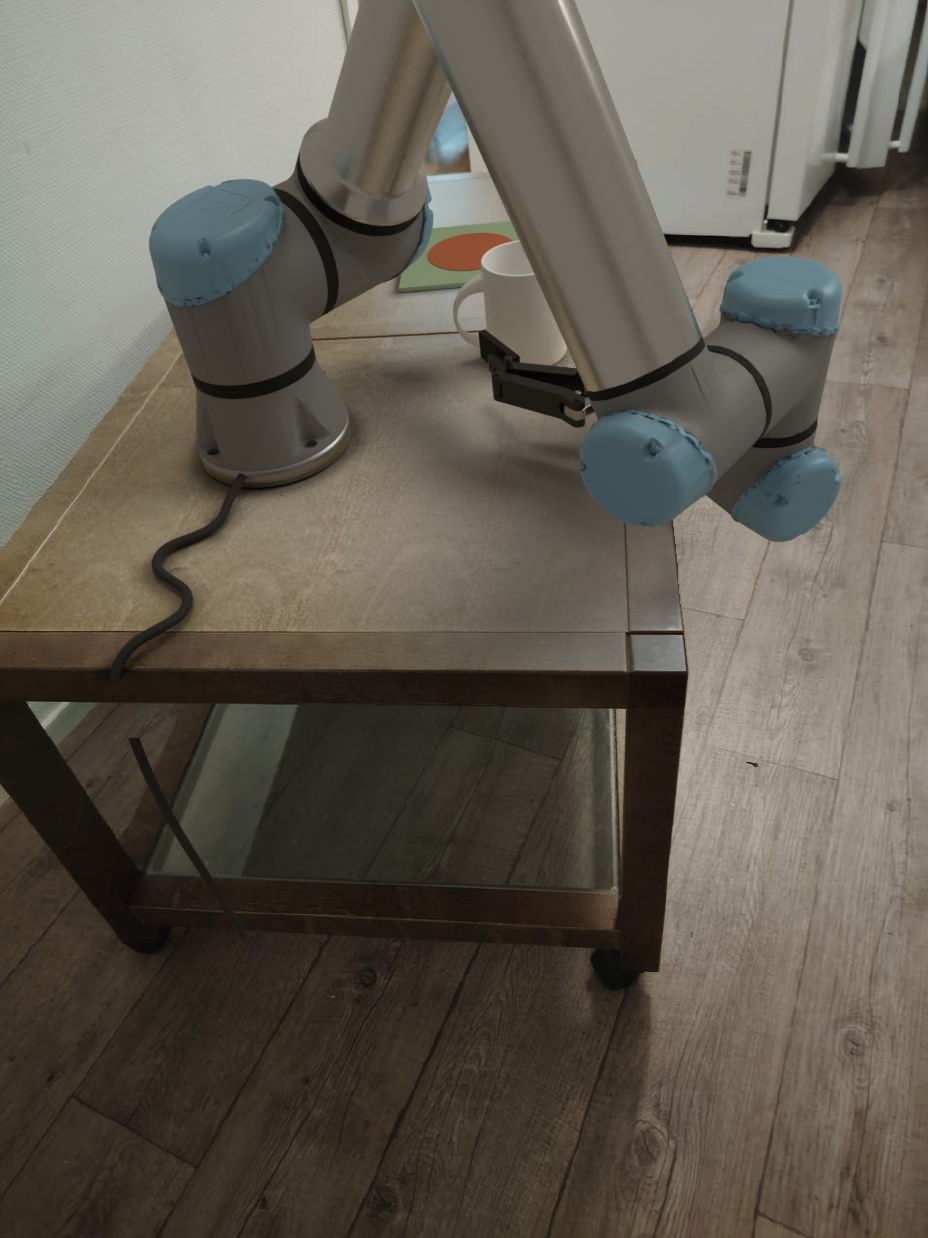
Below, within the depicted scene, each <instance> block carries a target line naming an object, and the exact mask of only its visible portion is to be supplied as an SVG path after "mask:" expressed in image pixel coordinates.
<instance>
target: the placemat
mask: <svg viewBox="0 0 928 1238" xmlns="http://www.w3.org/2000/svg"><path fill="white" fill-rule="evenodd" d="M518 240H519V239H518V236H517V234H516V232H515V230H514V227H513V225H512V223H511V221H510V220H509V221H508V220H507V221H497V222H486V223H476V224H475V223H473V224H464V225H463V224H462V225H454V226H445V227H444V226H442V227H432V233H431V236H430V240H429V242H428V245H427V247H426V249H425V250H424V252H423V253H422V255H421V256H420V257H419V258H418V260H417V261H416V262H414V263H413V264H412V265H410V266H409V267H408V268H407V269H406V270H405V271H404V272H403V273H400V278H399V284H398V292H399V293H409V292H420V291H421V292H422V291H432V290H445V289H455V288H456V289H457V288H462V287H463V285H464V284H465V283H466V282H468V281H469V280H470V279H471V278H473V277H474V276H476V275H477V274H479V273H480V272H481V271H482V269H481V259H482V257H483V255H484V254H485V253H486V252H487V251H489V250H490V249H492V248H494V247H496V246H498V245H501V244H504V243H508V242H512V241H518Z"/></svg>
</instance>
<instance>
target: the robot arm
mask: <svg viewBox="0 0 928 1238" xmlns="http://www.w3.org/2000/svg"><path fill="white" fill-rule="evenodd" d="M355 15H356V16H355V19H354V23H353V26H352V30H351V33H350V36H349V40H348V44H347V47H346V51H345V54H344V58H343V61H342V65H341V68H340V72H339V75H338V79H337V83H336V87H335V89H334V92H333V97H332V100H331V103H330V107H329V110H328V114H327V117H324V118H322V119H320V120H318V121H316V122H315V123H313V124H312V125H311V126H310V127H309V128H308V129H307V130H306V132H305V133H304V135H303V138H302V140H301V143H300V147H299V149H298V155H297V158H296V162H295V166H294V168H293V169H294V170H293V172H292V174H291V175H290V176H289V177H288V178H287V179H286V180H284V181H282V182H279V183H277V184H275V185H273V186H270V185H269V183H266V182H264V181H262V180H258V179H252V178H238V179H229V180H223V181H221V182H220V183H219V184H217V185H215V186H213V185H210V184H209V185H206V186H203V187H201V188H198V189H196V190H194V191H192V192H189V193H188V194H186V195H184V196H182V197H181V198H179V199H178V200H176V201H175V202H173V203H171V204H170V205H169V206H168V207H166V208H165V210H163V212H161V213H160V214H159V216H157V218H156V220H155V221H154V223H153V224H152V228H151V230H150V235H149V239H148V250H149V255H150V259H151V262H152V266H153V270H154V275H155V282H156V286H157V289H158V292H159V293H160V296H161V297H162V298H163V299H164V303H165V306H166V308H167V311H168V314H169V317H170V320H171V322H172V325H173V328H174V331H175V334H176V336H177V339H178V342H179V345H180V348H181V350H182V353H183V356H184V358H185V362H186V364H187V368H188V370H189V372H190V375H191V378H192V381H193V384H194V386H195V387H194V388H195V392H196V393H195V397H196V398H195V401H196V403H195V404H196V405H195V407H196V408H195V411H196V412H195V415H196V416H195V417H196V419H195V426H196V428H195V447H196V450H197V453H198V455H199V458H200V461H201V463H202V466H203V469H204V470H205V471H206V472H207V474H209V475H210V476H211V477H212V478H213V479H215V480H217V481H219V482H221V483H224V484H227V485H230V488H229V490H228V492H227V493H226V496H225V498H224V500H223V502H222V505H221V508H220V510H219V512H218V514H217V516H216V517H215V518H214V519H213V520H211V522H209V523H208V524H206V525H205V526H202V527H201V528H199V529H197V530H194V531H192V532H189V533H185V534H184V535H180V536H178V537H175V538H173V539H171V540H169V541H167V542H165V543H164V544H162V545H161V546H160V547H159V548H158V549H157V550H156V551H155V552H154V555H153V556H152V559H151V568H152V571H153V573H154V574H155V575H156V577H157V578H159V580H161V581H163V582H164V583H166V584H168V585H169V586H171V587H172V588H173V589H175V590H176V591H178V593H179V594H180V595H181V597H182V601H181V604H180V606H179V607H178V609H177V610H176V611H174V613H172V614H171V615H169V616H168V617H167V618H165V619H163V620H161V621H158V622H157V623H155V624H153V625H152V626H150V627H148V628H146V629H144V630H142V631H141V632H139V633H137V634H136V635H135V636H133V637H132V638H130V640H128V641H127V642H126V643H125V644H124V645H123V646H122V648H121V649H120V650H119V651H118V653H117V655H116V657H115V658H114V660H113V661H112V662H113V663H112V665H111V668H110V671H109V678H108V681H109V683H111V684H115V683H117V682H118V681H119V680H120V679H121V677H122V675H123V671H124V668H125V665H126V663H127V661H128V659H130V657H131V655H132V654H134V652H136V651H137V649H139V648H140V647H142V646H143V645H144V644H145V643H147V642H148V641H150V640H152V639H154V638H155V637H158V636H160V635H161V634H164V633H165V632H167V631H168V630H170V629H173V627H176V626H177V625H178V624H180V623H181V622H182V621H183V620H184V619H185V618H186V617H187V615H188V614H189V613H190V611H191V609H192V607H193V605H194V604H193V603H194V596H193V592H192V590H191V588H190V587H189V585H187V584H186V583H185V582H184V581H182V580H181V579H179V578H178V577H176V576H175V575H173V574H172V573H170V572H168V571H167V570H166V569H165V568H164V567H163V560H164V559H165V557H166V556H167V555H168V554H170V553H171V552H173V551H175V550H177V549H179V548H182V547H184V546H187V545H189V544H192V543H195V542H198V541H199V540H202V539H204V538H207V537H208V536H209V535H212V534H213V533H215V532H216V531H218V530H219V529H220V528H221V527H222V526H223V524H225V522H226V521H227V519H228V517H229V514H230V512H231V510H232V507H233V504H234V502H235V500H236V498H237V497H238V495H239V493H240V491H241V488H249V489H250V488H253V489H254V488H255V489H258V488H269V487H270V488H271V487H278V486H282V485H286V484H291V483H294V482H297V481H300V480H303V479H305V478H308V477H310V476H313V475H315V474H317V473H318V472H320V471H322V470H324V469H326V468H327V467H329V466H330V465H331V464H332V463H334V462H335V461H336V460H337V459H338V458H339V457H340V456H341V455H342V454H343V453H344V451H346V449H347V447H348V445H349V443H350V442H351V438H352V432H353V429H352V424H351V420H350V415H349V411H348V407H347V405H346V404H345V402H344V401H343V399H342V398H341V397H340V395H339V393H338V392H337V390H336V388H335V387H334V385H333V383H332V382H331V380H330V379H329V377H328V376H327V374H326V371H325V370H323V368H322V366H321V365H320V363H319V362H318V359H317V355H316V350H315V347H314V343H313V337H312V333H311V328H310V325H311V324H312V323H314V322H315V321H317V320H318V319H320V318H322V317H324V316H325V315H327V314H329V313H330V312H332V311H334V310H336V309H338V308H339V307H341V306H343V305H345V304H347V303H348V302H351V301H352V300H354V299H356V298H358V297H360V296H362V295H363V294H364V293H366V292H369V291H370V290H372V289H374V288H376V287H377V286H379V285H381V284H384V283H386V282H387V283H388V282H390V281H392V280H394V279H396V278H398V277H399V276H400V275H401V273H403V272H404V271H405V270H406V269H407V268H408V267H409V266H410V265H412V264H413V263H414V262H416V261H417V260H418V258H419V257H420V256H421V255H422V253H423V252H424V250H425V249H426V247H427V245H428V242H429V240H430V236H431V233H432V228H434V211H433V210H432V209H431V208H430V207H429V204H430V203H431V202H432V195H431V190H430V187H429V182H428V176H427V173H426V169H425V167H424V165H423V162H424V160H425V157H426V155H427V153H428V151H429V148H430V146H431V144H432V141H433V138H434V136H435V133H436V132H437V129H438V127H439V126H438V125H439V124H440V123H441V119H442V117H443V115H444V112H445V110H446V107H447V105H448V102H449V100H450V98H451V95H452V93H453V96H454V98H455V100H456V102H457V105H458V107H459V109H460V111H461V114H462V116H463V118H464V120H465V122H466V125H467V128H469V131H470V133H471V136H472V139H473V140H474V142H475V145H476V147H477V149H478V151H479V153H480V155H481V158H482V161H483V162H484V164H485V168H486V169H487V171H488V173H489V176H490V178H491V180H492V183H493V185H494V187H495V190H496V192H497V194H498V196H499V198H500V201H501V203H502V205H503V207H504V209H505V212H506V214H507V216H508V218H509V221H511V223H512V225H513V227H514V230H515V232H516V234H517V236H518V239H519V241H520V243H521V245H522V248H523V250H524V252H525V254H526V256H527V259H528V261H529V263H530V265H531V268H532V270H533V272H534V274H535V277H536V279H537V281H538V283H539V286H540V288H541V290H542V292H543V294H544V297H545V299H546V301H547V303H548V306H549V308H550V310H551V312H552V315H553V317H554V319H555V321H556V323H557V326H558V328H559V330H560V332H561V335H562V337H563V339H564V341H565V344H566V346H567V350H568V352H569V355H570V357H571V359H572V361H573V363H574V366H575V367H570V366H569V367H568V366H558V365H552V366H550V365H541V364H531V363H521V362H520V356H519V355H518V354H516V353H515V352H514V351H512V350H511V349H510V348H509V347H507V346H506V345H505V344H503V343H502V342H501V341H499V340H498V339H497V338H495V337H494V336H493V335H492V334H490V333H489V332H488V331H486V330H485V329H483V330H480V331H478V332H477V333H479V344H480V347H479V354H480V358H481V359H482V360H483V361H484V362H486V364H487V365H488V366H487V367H488V371H489V372H490V373H491V375H490V376H491V388H492V398H493V401H495V402H497V403H498V402H499V403H502V404H507V405H509V406H513V407H516V408H520V409H524V410H527V411H530V412H534V413H538V414H541V415H544V416H548V417H552V418H555V419H559V420H561V421H563V422H565V423H566V424H567V425H569V426H571V427H573V428H575V429H581V428H583V427H585V425H586V417H589V416H590V415H592V414H594V413H595V414H594V415H595V416H596V418H597V420H596V421H595V422H594V423H592V425H591V427H590V428H589V430H588V431H587V433H586V434H585V435H584V437H583V439H582V441H581V443H580V446H579V453H578V456H579V459H580V466H579V473H580V476H581V479H582V483H583V485H584V486H585V489H586V490H587V492H588V493H589V494H590V496H591V498H592V499H593V500H594V502H596V504H597V505H598V507H600V508H601V509H602V510H603V511H604V512H605V513H607V514H608V515H609V516H611V517H613V518H614V519H616V520H618V521H620V522H622V523H623V524H624V523H625V524H627V525H629V526H633V527H639V528H640V527H641V528H655V527H658V526H661V525H664V524H668V523H669V522H671V521H673V520H674V519H676V518H677V517H678V516H679V515H681V514H682V513H683V512H684V511H686V510H687V509H689V508H690V507H691V506H693V504H695V503H696V502H698V501H699V500H700V499H701V498H704V497H705V496H706V497H707V498H709V500H711V501H712V502H713V503H714V504H716V505H717V506H718V507H720V508H721V509H723V511H725V512H726V513H728V515H730V516H731V519H732V520H733V521H734V522H736V523H739V524H741V525H743V526H745V528H747V529H749V530H751V531H752V532H754V533H755V534H757V535H759V536H760V537H762V538H764V539H765V540H768V541H770V542H775V543H784V542H788V541H789V542H790V541H793V540H795V539H797V538H798V537H799V536H802V535H806V534H807V533H808V532H809V531H811V530H812V529H813V528H815V527H816V526H817V525H818V524H820V523H821V521H822V520H823V519H824V518H825V517H826V516H827V514H828V513H829V511H830V510H831V508H832V507H833V505H834V504H835V502H836V500H837V498H838V495H839V493H840V491H841V486H842V479H843V477H842V473H841V472H840V467H839V464H838V462H837V461H836V460H835V459H834V458H833V457H832V456H830V455H829V454H828V453H827V452H826V448H823V447H819V446H816V444H815V439H816V434H817V430H818V424H819V423H818V418H819V413H820V407H821V404H822V400H823V399H822V398H823V394H824V390H825V386H826V380H827V376H828V372H829V368H830V363H831V358H832V355H833V348H834V344H835V339H836V336H837V335H839V332H840V326H839V320H840V319H839V318H840V311H841V304H842V297H843V296H842V295H843V286H842V282H841V280H840V278H839V276H838V275H837V273H835V272H834V270H832V269H831V268H830V267H828V266H827V265H825V264H824V263H820V262H818V261H816V260H813V259H808V258H803V257H798V256H789V255H779V256H778V255H776V256H775V255H774V256H766V257H760V258H756V259H753V260H750V261H747V262H745V263H743V264H741V265H739V266H738V267H737V268H735V269H734V270H733V271H732V272H731V273H730V274H729V276H728V278H727V280H726V282H725V285H724V286H725V287H724V290H723V295H722V300H721V303H720V304H719V309H718V311H719V312H720V316H719V318H720V319H719V323H718V325H717V327H715V328H714V329H713V330H712V331H711V332H709V333H707V335H706V336H704V337H703V334H702V331H701V330H700V326H699V324H698V321H697V319H696V316H695V313H694V310H693V308H692V305H691V303H690V300H689V297H688V295H687V292H686V289H685V287H684V284H683V282H682V278H681V276H680V274H679V271H678V268H677V266H676V263H675V260H674V258H673V255H672V253H671V250H670V248H669V245H668V242H667V240H666V237H665V234H664V232H663V229H662V227H661V224H660V221H659V219H658V216H657V213H656V211H655V208H654V205H653V203H652V200H651V197H650V195H649V192H648V189H647V186H646V185H645V182H644V180H643V176H642V174H641V172H640V169H639V166H638V164H637V160H636V158H635V156H634V152H633V151H632V148H631V145H630V142H629V140H628V138H627V134H626V132H625V129H624V126H623V123H622V121H621V119H620V116H619V114H618V111H617V108H616V106H615V105H616V104H615V103H614V100H613V98H612V95H611V92H610V90H609V88H608V87H609V86H608V85H607V81H606V79H605V77H604V74H603V72H602V68H601V66H600V64H599V61H598V58H597V55H596V53H595V50H594V48H593V45H592V42H591V39H590V38H589V34H588V32H587V29H586V27H585V23H584V21H583V19H582V16H581V13H580V11H579V8H578V6H577V3H576V1H575V0H360V2H359V5H358V9H357V12H356V14H355ZM127 739H128V741H129V742H128V743H129V745H130V748H131V750H132V753H133V755H134V758H135V760H136V763H137V765H138V768H139V769H140V772H141V774H142V776H143V779H144V781H145V783H146V785H147V787H148V790H149V791H150V793H151V796H152V797H153V799H154V801H155V803H156V805H157V807H158V809H159V810H160V812H161V814H162V816H163V818H164V820H165V821H166V824H167V825H168V827H169V828H170V830H171V832H172V833H173V835H174V837H175V838H176V840H177V842H178V843H179V845H180V847H181V848H182V849H183V852H185V854H186V856H187V858H188V859H189V860H190V862H191V864H192V865H193V867H194V868H195V870H196V872H197V873H198V874H199V875H200V877H201V879H202V880H203V882H204V883H205V885H206V886H207V888H208V889H209V891H210V892H211V894H212V895H213V897H214V899H215V900H216V902H217V903H218V905H219V906H220V908H221V909H222V911H223V913H224V914H225V917H226V918H227V920H228V921H229V923H230V925H231V926H232V928H233V930H234V932H235V933H236V935H237V936H238V938H239V940H241V941H243V940H245V939H246V938H247V936H248V934H247V931H246V930H245V929H244V927H243V925H242V923H241V921H240V919H239V918H238V916H237V915H236V913H235V911H234V910H233V908H232V906H231V904H230V903H229V901H228V899H227V897H226V896H225V895H224V893H223V891H222V890H221V889H220V887H219V885H218V884H217V882H216V880H215V879H214V877H213V876H212V874H211V873H210V871H209V869H208V868H207V867H206V865H205V863H204V861H203V860H202V858H201V857H200V856H199V854H198V852H197V851H196V849H195V848H194V846H193V845H192V843H191V841H190V839H189V838H188V835H186V833H185V831H184V829H183V828H182V826H181V824H180V823H179V821H178V819H177V817H176V815H175V814H174V811H173V810H172V808H171V806H170V803H169V802H168V800H167V799H166V796H165V794H164V792H163V790H162V788H161V786H160V784H159V782H158V779H157V777H156V775H155V773H154V770H153V769H152V765H151V763H150V761H149V758H148V756H147V754H146V752H145V749H144V746H143V743H142V741H141V738H140V737H127Z"/></svg>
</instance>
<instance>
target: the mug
mask: <svg viewBox="0 0 928 1238" xmlns="http://www.w3.org/2000/svg"><path fill="white" fill-rule="evenodd" d="M481 269H482V271H481V272H480V273H479V274H477V275H476V276H474V277H473V278H471V279H470V280H469V281H468V282H466V283H465V284H464V285H463V287H460V289H459V290H458V292H457V294H456V296H455V298H454V301H453V306H452V316H453V322H454V325H455V328H456V331H457V333H458V334H459V336H460V337H461V338H462V339H463V340H464V341H465V342H466V343H467V344H469V345H471V346H474V347H477V348H480V344H479V333H478V332H476V333H474V332H473V333H472V332H468V331H466V330H465V329H464V328H463V327H462V326H461V324H460V322H459V319H458V313H459V309H460V306H461V304H462V303H463V302H464V301H465V300H466V299H467V298H469V297H470V296H473V295H476V294H480V293H482V294H483V302H484V303H483V304H484V313H485V324H486V328H485V329H484V330H486V331H488V332H489V333H490V334H492V335H493V336H494V337H495V338H497V339H498V340H499V341H501V342H502V343H503V344H505V345H506V346H507V347H509V348H510V349H511V350H512V351H514V352H515V353H516V354H518V355H519V356H520V362H521V363H531V364H541V365H550V366H555V364H557V363H559V362H560V360H561V359H563V358H564V356H565V355H566V352H567V350H568V348H567V346H566V344H565V341H564V339H563V337H562V335H561V332H560V330H559V328H558V326H557V323H556V321H555V319H554V317H553V315H552V312H551V310H550V308H549V306H548V303H547V301H546V299H545V297H544V294H543V292H542V290H541V288H540V286H539V283H538V281H537V279H536V277H535V274H534V272H533V270H532V268H531V265H530V263H529V261H528V259H527V256H526V254H525V252H524V250H523V248H522V245H521V243H520V241H519V240H518V241H512V242H508V243H504V244H501V245H498V246H496V247H494V248H492V249H490V250H489V251H487V252H486V253H485V254H484V255H483V257H482V259H481Z"/></svg>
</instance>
